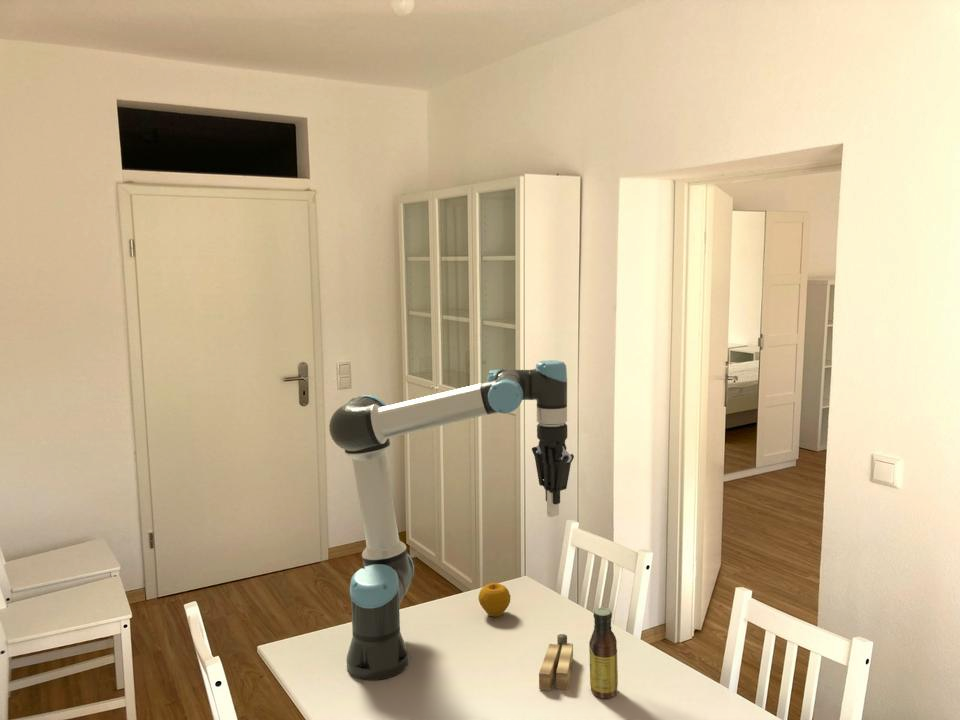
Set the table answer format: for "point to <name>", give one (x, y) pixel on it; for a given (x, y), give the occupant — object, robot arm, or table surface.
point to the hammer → (564, 662)
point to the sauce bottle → (603, 655)
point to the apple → (494, 599)
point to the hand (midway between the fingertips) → (553, 515)
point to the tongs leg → (549, 667)
